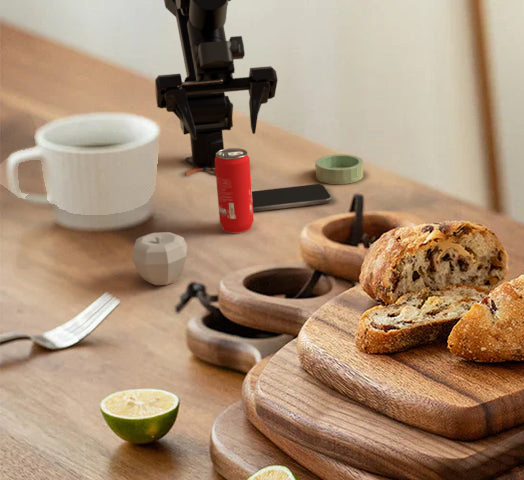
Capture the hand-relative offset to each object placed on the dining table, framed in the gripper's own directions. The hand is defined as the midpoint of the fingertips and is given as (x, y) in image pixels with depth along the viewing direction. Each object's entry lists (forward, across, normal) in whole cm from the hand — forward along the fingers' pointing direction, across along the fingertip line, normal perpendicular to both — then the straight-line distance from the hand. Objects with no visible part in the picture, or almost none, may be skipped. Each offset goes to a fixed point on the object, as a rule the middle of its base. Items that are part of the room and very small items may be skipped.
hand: (224, 135), depth 166 cm
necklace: (-6, +1, +24) cm, 25 cm away
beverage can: (+14, 0, +4) cm, 15 cm away
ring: (+1, +21, +17) cm, 27 cm away
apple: (+25, -13, -7) cm, 29 cm away
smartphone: (+7, +9, +11) cm, 16 cm away
